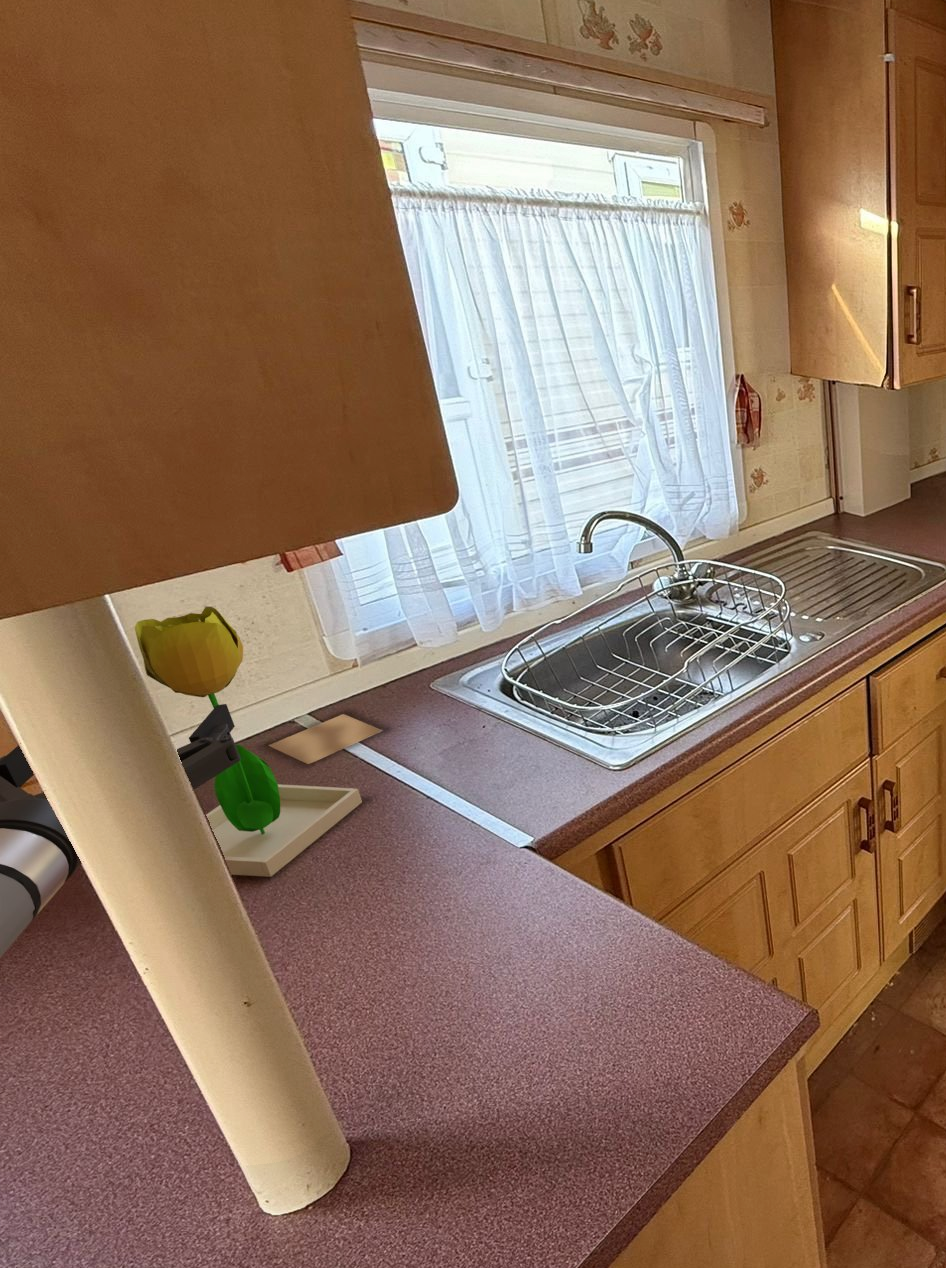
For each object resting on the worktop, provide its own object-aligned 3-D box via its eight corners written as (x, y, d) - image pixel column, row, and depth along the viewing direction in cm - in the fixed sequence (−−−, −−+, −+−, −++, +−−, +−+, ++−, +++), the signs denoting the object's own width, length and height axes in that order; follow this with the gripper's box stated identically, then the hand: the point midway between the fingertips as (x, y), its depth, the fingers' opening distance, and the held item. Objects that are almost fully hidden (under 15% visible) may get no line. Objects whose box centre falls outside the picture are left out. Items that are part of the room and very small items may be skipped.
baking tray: (153, 873, 100) (145, 855, 99) (258, 798, 113) (252, 782, 112) (272, 879, 99) (265, 862, 98) (363, 804, 112) (358, 788, 111)
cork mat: (309, 767, 119) (308, 764, 119) (268, 748, 123) (267, 745, 123) (384, 733, 128) (383, 730, 128) (344, 716, 132) (343, 713, 131)
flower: (307, 837, 105) (228, 618, 94) (220, 865, 100) (125, 638, 89) (301, 803, 111) (226, 594, 100) (219, 828, 106) (130, 611, 95)
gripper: (-198, 943, 64) (-15, 784, 82) (223, 863, 73) (304, 736, 91) (-253, 864, 61) (-51, 717, 79) (193, 791, 70) (283, 675, 88)
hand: (140, 727), depth 85 cm, fingers open, 13 cm apart
